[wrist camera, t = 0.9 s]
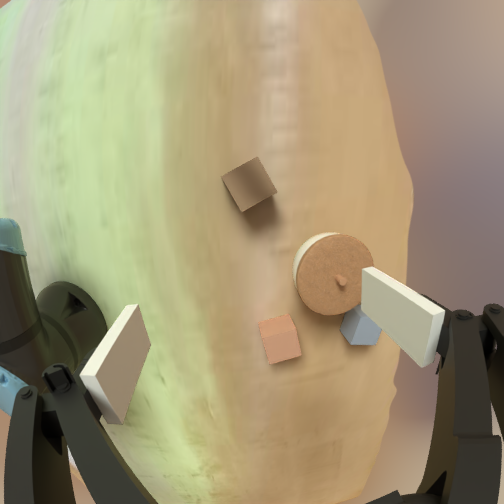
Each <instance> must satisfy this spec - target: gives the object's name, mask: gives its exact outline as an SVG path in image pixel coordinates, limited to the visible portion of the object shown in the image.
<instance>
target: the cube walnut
mask: <svg viewBox="0 0 504 504" xmlns="http://www.w3.org/2000/svg"><path fill="white" fill-rule="evenodd" d="M221 177H222V179H223V181H224V183H225V184H226V186H227V188H228V190H229V191H230V193H231V195H232V196H233V198H234V200H235V202H236V203H237V205H238V207H239V209H240V210H241V212H243V211H245V210H247V209H248V208H250V207H252V206H254V205H256V204H257V203H259V202H261V201H263V200H264V199H266V198H268V197H270V196H272V195H273V194H275V193H277V190H276V189H275V187H274V185H273V183H272V181H271V180H270V178H269V176H268V174H267V172H266V171H265V169H264V167H263V165H262V164H261V162H260V160H259V158H258V157H256V158H254V159H252V160H250V161H248V162H246V163H245V164H243V165H241V166H239V167H237V168H236V169H234V170H232V171H230V172H228V173H227V174H225V175H223V176H221Z"/></svg>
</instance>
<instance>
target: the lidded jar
mask: <svg viewBox="0 0 504 504" xmlns="http://www.w3.org/2000/svg"><path fill="white" fill-rule="evenodd" d="M368 267H374V264H373V259H372V256H371V254H370V252H369V250H368V249H367V247H366V246H365V245H364V244H363V243H362V242H361V241H359V240H357V239H356V238H354V237H351V236H348V235H344V234H341V233H334V232H327V233H321V234H318V235H315V236H313V237H311V238H309V239H308V240H307V241H305V242H304V243H303V244H302V246H301V247H300V248H299V250H298V251H297V253H296V255H295V258H294V261H293V280H294V283H295V286H296V289H297V291H298V293H299V295H300V297H301V299H302V301H303V302H304V303H305V305H306V306H307V307H308V308H310V309H311V310H312V311H314V312H316V313H319V314H322V315H338V314H342V313H345V312H347V311H349V310H351V309H352V308H354V307H355V306H356V305H358V304H359V303H360V302H361V295H362V269H363V268H368Z"/></svg>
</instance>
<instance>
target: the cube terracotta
mask: <svg viewBox="0 0 504 504" xmlns="http://www.w3.org/2000/svg"><path fill="white" fill-rule="evenodd" d="M258 323H259V328H260V332H261V337H262V340H263V344H264V347H265V351H266V354H267V357H268V361H269V364H273V363H277V362H280V361H284V360H288V359H291V358H294V357H298V356H301V350H300V345H299V340H298V336H297V331H296V328H295V326H294V323H293V321H292V319H291V317H290V315H289V314H286V315H283V316H279V317H276V318H272V319H269V320H265V321H261V322H258Z"/></svg>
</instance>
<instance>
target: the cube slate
mask: <svg viewBox="0 0 504 504" xmlns="http://www.w3.org/2000/svg"><path fill="white" fill-rule="evenodd" d="M381 330H382V329H381V328H380V327H379V326H378V325H377V324H376V323H375V322H374V321H372V320H371V319H370V318H369V317H368V316H367V315H366V314H365V313H364V312H363V311H362V310H361V305H356V306H355V307H354V308H352V309H351V310H349V311H347V312H345V316H344V319H343V322H342V324H341V327H340V331H341V333H342V334H343V335H344V337H345V338H346V339H347V341H348V342H349V343H350V345H376V343H377V340H378V338H379V335H380V333H381Z"/></svg>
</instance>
